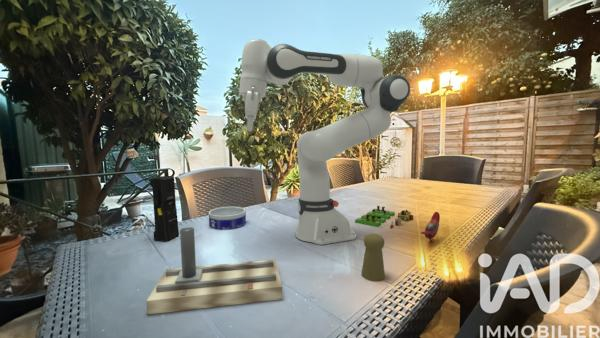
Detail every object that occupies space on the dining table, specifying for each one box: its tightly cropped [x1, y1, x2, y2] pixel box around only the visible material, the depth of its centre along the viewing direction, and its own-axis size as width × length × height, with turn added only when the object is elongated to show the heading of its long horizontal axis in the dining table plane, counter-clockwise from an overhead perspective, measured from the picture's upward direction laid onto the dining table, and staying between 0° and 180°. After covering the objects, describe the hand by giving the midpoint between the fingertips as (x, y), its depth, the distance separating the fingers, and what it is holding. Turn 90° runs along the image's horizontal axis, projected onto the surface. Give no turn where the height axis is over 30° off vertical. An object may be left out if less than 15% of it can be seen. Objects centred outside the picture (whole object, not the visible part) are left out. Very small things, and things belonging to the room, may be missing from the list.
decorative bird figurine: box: [420, 211, 441, 244], centre depth 93 cm, size 3×18×10 cm, turn 137°
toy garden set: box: [354, 205, 414, 229], centre depth 120 cm, size 23×19×5 cm
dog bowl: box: [208, 206, 247, 231], centre depth 115 cm, size 15×15×6 cm
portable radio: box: [149, 169, 180, 242], centre depth 97 cm, size 8×6×25 cm
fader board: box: [145, 259, 283, 315], centre depth 65 cm, size 28×14×4 cm, turn 101°
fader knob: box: [175, 227, 202, 284], centre depth 63 cm, size 5×5×12 cm
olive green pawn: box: [360, 233, 386, 282], centre depth 71 cm, size 6×6×11 cm
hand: (249, 131), depth 93 cm, fingers open, 8 cm apart
